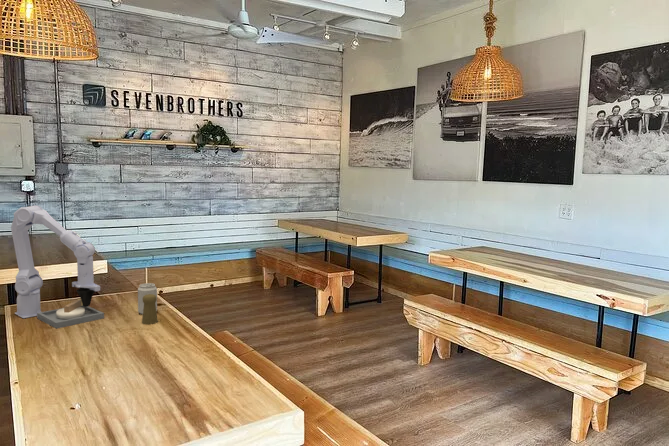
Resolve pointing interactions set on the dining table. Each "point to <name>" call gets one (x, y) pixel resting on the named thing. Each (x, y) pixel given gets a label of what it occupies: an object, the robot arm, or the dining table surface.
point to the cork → (149, 309)
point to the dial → (71, 310)
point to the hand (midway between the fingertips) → (86, 306)
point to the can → (144, 290)
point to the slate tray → (55, 322)
